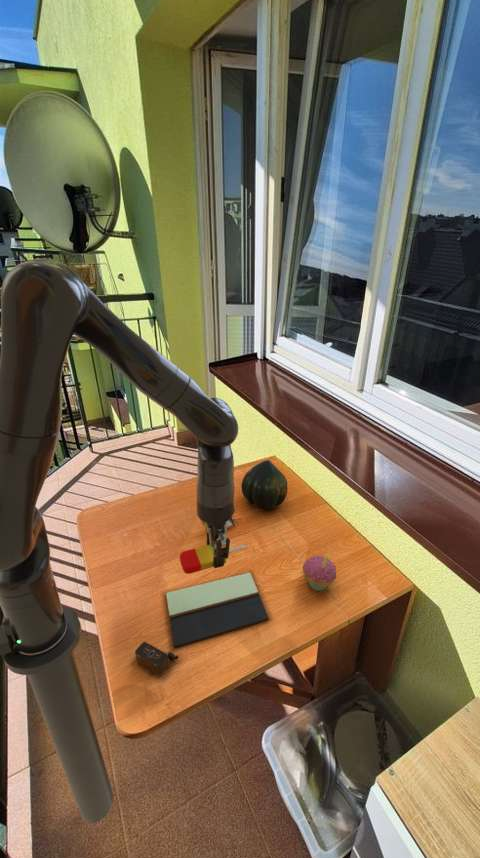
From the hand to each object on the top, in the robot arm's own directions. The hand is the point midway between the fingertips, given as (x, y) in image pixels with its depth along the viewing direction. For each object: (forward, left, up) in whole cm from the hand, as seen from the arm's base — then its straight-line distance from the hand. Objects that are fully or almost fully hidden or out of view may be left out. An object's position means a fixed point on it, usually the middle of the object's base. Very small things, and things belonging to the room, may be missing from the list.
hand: (215, 555), depth 85 cm
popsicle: (0, 0, -1) cm, 1 cm away
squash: (+24, +32, -14) cm, 42 cm away
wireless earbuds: (-14, -12, -14) cm, 23 cm away
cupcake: (+26, -4, -14) cm, 29 cm away
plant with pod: (+8, +25, -14) cm, 30 cm away
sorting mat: (0, -3, -13) cm, 14 cm away
